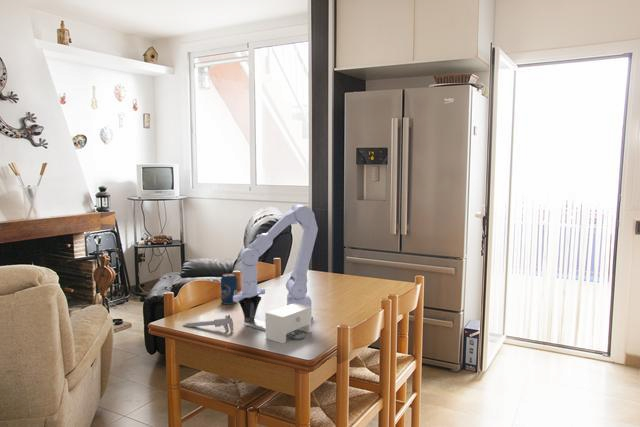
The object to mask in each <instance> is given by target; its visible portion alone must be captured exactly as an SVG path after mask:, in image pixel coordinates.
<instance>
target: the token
mask: <svg viewBox="0 0 640 427" xmlns="http://www.w3.org/2000/svg"><path fill="white" fill-rule="evenodd" d="M289 334H290V339H291V340H294V341H302V340H304V339H306V332H304V331H301V330H294V331H291V332H290V333H289Z"/></svg>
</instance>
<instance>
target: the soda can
mask: <svg viewBox="0 0 640 427" xmlns="http://www.w3.org/2000/svg"><path fill="white" fill-rule="evenodd" d="M237 294H238V278H237V275H236V274H235V273H229V272H228V273H222V275H221V279H220V301H221V302H222V303H223V304H225V305H232V304H236V303H237V302H234V301H233V296H235V295H237Z"/></svg>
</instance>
